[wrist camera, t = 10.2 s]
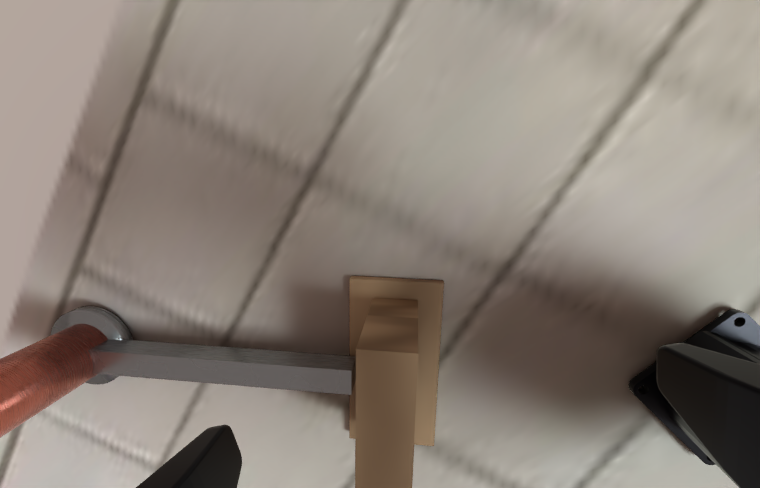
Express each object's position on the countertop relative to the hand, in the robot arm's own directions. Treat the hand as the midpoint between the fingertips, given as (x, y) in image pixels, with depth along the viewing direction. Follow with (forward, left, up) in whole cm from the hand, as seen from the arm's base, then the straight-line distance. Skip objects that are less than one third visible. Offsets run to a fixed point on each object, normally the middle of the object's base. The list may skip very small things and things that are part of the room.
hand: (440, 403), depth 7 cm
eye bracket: (-3, +6, -12) cm, 13 cm away
